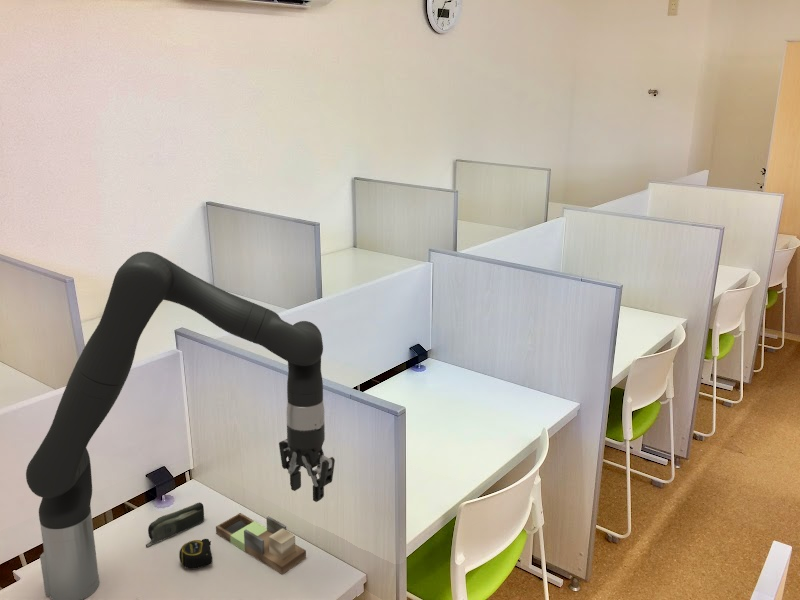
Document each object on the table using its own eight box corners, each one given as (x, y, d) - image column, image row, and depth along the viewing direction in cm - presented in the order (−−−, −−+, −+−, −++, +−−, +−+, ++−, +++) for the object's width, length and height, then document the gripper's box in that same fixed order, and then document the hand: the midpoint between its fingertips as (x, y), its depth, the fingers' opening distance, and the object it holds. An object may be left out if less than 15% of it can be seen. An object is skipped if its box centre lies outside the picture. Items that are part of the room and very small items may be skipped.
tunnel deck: (306, 558, 152) (305, 536, 150) (282, 574, 146) (281, 552, 145) (240, 520, 165) (239, 500, 163) (216, 533, 159) (215, 513, 158)
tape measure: (213, 569, 147) (212, 554, 146) (180, 575, 145) (179, 560, 144) (211, 550, 154) (210, 535, 153) (179, 555, 152) (178, 540, 151)
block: (295, 550, 151) (295, 535, 150) (281, 559, 148) (281, 543, 147) (282, 543, 153) (282, 528, 152) (269, 552, 150) (268, 536, 149)
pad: (269, 536, 159) (268, 529, 158) (244, 551, 153) (244, 544, 153) (254, 528, 162) (254, 521, 161) (230, 542, 156) (230, 535, 156)
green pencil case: (199, 499, 165) (140, 524, 154) (206, 504, 163) (147, 530, 152) (199, 517, 166) (141, 543, 155) (206, 522, 164) (148, 549, 153)
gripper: (267, 416, 138) (269, 489, 142) (318, 438, 129) (319, 515, 134) (294, 404, 143) (295, 475, 148) (344, 424, 135) (344, 499, 140)
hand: (307, 494), depth 141 cm, fingers open, 5 cm apart
